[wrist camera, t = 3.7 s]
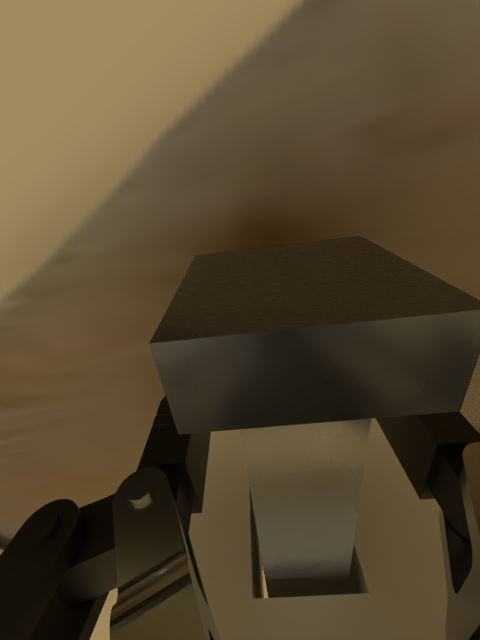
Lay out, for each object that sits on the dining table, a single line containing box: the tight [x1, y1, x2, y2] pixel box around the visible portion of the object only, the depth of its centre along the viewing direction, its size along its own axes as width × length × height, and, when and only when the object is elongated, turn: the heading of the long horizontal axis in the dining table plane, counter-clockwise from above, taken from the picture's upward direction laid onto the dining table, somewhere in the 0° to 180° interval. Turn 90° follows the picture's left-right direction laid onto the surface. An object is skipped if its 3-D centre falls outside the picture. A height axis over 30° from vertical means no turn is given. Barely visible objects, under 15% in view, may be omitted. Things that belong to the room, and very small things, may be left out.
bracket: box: [189, 418, 447, 640], centre depth 15 cm, size 14×13×16 cm
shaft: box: [149, 236, 480, 598], centre depth 12 cm, size 24×5×5 cm, turn 7°
